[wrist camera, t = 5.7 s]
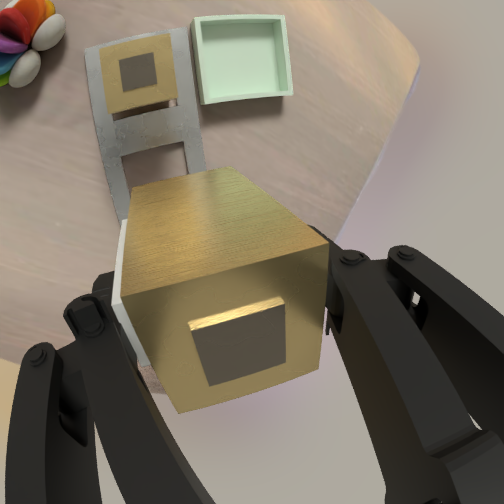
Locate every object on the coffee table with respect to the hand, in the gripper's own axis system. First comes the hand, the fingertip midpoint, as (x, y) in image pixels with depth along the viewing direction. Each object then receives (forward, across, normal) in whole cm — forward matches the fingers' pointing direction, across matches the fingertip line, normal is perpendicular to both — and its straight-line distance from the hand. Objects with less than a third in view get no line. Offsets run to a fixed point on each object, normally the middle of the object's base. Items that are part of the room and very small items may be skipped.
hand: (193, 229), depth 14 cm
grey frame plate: (+17, -1, +4) cm, 17 cm away
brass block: (+1, 0, 0) cm, 1 cm away
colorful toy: (+17, -13, +17) cm, 28 cm away
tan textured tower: (+17, -2, +9) cm, 19 cm away
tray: (+17, +8, +10) cm, 22 cm away
